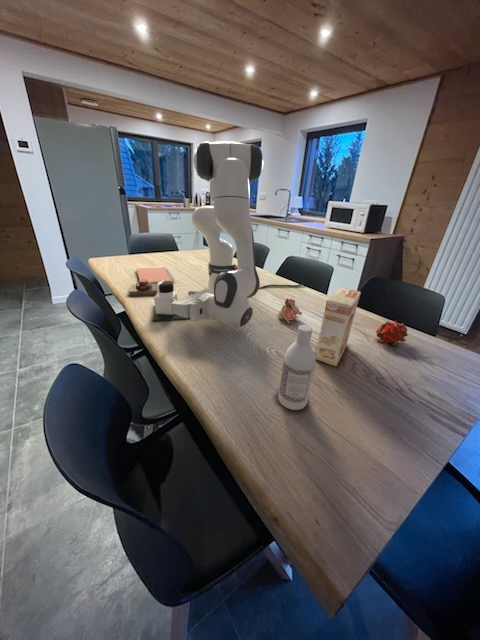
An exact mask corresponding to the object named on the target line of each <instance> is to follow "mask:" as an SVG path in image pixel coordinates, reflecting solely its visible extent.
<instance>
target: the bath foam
mask: <svg viewBox="0 0 480 640" xmlns="http://www.w3.org/2000/svg"><path fill="white" fill-rule="evenodd" d="M312 334H313V328H312V327H311V326H309V325H305V324H302V325H299V326H298V327H297V332H296V339H295V341H294V342H293V343H292V344H291V345H290V346H289V347H288V348H287V350H286V351H285V354H284V356H283V362H282V367H281V374H280V381H279V387H278V395H277V398H278V402H279V403H280V404H281V405H282V406H283V407H285V408H286V409H289V410H292V411H299V410H302V409H304V408H305V407H306V406H307V404H308V400H309V396H310V391H311V386H312V381H313V377H314V373H315V369H316V359H315V352H314V349H313V347H312V345H311V339H312Z"/></svg>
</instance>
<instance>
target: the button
mask: <svg viewBox="0 0 480 640" xmlns="http://www.w3.org/2000/svg"><path fill="white" fill-rule="evenodd" d="M138 282H139V285H148V280H147V279H141V280H139V279H138Z"/></svg>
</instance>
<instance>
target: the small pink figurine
mask: <svg viewBox="0 0 480 640" xmlns="http://www.w3.org/2000/svg"><path fill="white" fill-rule="evenodd" d="M297 315H299V316H302V315H303V312H302V311H300V309H299V307H297V306H296V301H295V299H293V298H290V297H289V298H286V299H285V300H284V304H283V305H282V307H281V309H280V310H278V314H277V317H278V318H280V320H285V321H286V322H287V323H288V324H290V320H291V321H294V318H296V317H297Z"/></svg>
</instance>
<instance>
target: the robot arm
mask: <svg viewBox="0 0 480 640" xmlns="http://www.w3.org/2000/svg"><path fill="white" fill-rule="evenodd" d="M193 167H194V169H195V172H196V175H197V176H198V177H199V179H201V180H204V181H206V182H209V197H210V200H211V201H212V203H213V205H203V206H197V207H196V208H195V209H194V211H193V212H192V216H191V221H192V225H193V227H194V229H196V231H198V232H199V233H200V234H201V235H202V236H203V238H204V239H205V241H206V243H207V247H208V257H209V258H208V259H209V261H208V266H207V274H208V281H207V286H206V288H205V289H202V290H200V291H198V290H195V291H194V290H189V291H187V296H184V297H182V298H179V299H178V298H177V299H178V300H177V299H176V298H174V297H173V298H170V302H171V310H172V312H173V313H174V314H176V315H179V316H181V317H185V318H190V319H189V320H190V321H192V322H198V321H202V320H209V319H210V320H213V321H218V322H220V323H222V324H224V325H226V326H230V327H235V328H242V327H244V326H246V325H247V324H248V323H249V322H250V320H251V319H252V316H253V311H254V310H253V307H252V306H251V305H250V303H249V300H248V299H250V298H253V297H254V296H255V295H256V294H257V293H258V292H259V290H261V289H265V288H270V287H282V288H283V287H287V288H289V287H290V288H296V287H301V286H303V285H304V286H307V284H306V282H302V283H300V284H267V285H264V286H261V287H260V285H261V284H260V283H261V281H260V277H259V274H258V272H257V267H256V254H255V253H256V251H255V238H254V237H255V236H254V230H253V225H252V217H251V206H250V205H251V204H250V203H251V200H250V199H251V193H250V192H251V191H250V189H251V188H250V183H251V182H256V181H257V180H258V179H259V178H260V177H261V173H262V171H263V168H264V157H263V151H262V150H261V148H260V147H259V145H258V146H257V145H256V144H252V143H249V144H247V143H242V142H235V141H213V142H209V141H203V142H200V143H199V142H198V145H196V148H195V151H194V155H193ZM221 234H227V235H229V237H231V238H232V240H233V241H234V244H235V250H236V262H237V263H236V264H235V263H234V247H233V246H232V243H230V242H228V241H227V240H225V239H223V238H222V237H221Z"/></svg>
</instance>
